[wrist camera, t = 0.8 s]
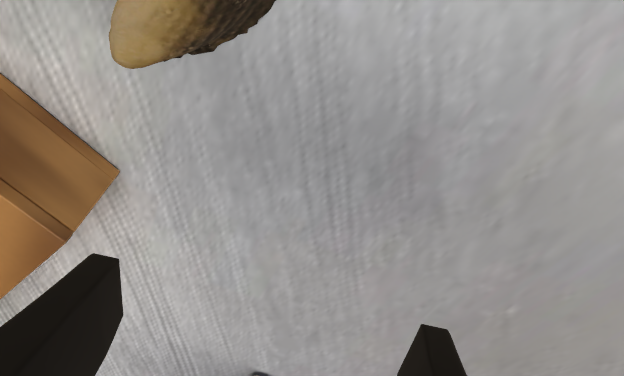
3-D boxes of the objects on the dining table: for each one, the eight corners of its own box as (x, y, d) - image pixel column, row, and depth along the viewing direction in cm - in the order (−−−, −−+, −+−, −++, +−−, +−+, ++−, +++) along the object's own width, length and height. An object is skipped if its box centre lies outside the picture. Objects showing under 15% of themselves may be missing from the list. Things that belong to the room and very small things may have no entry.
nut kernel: (121, 63, 20) (105, 97, 17) (83, -78, 17) (58, -62, 14) (286, 50, 20) (294, 81, 18) (277, -89, 17) (284, -75, 15)
